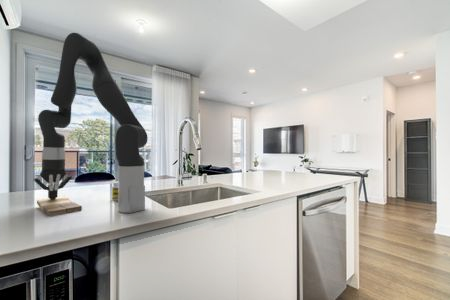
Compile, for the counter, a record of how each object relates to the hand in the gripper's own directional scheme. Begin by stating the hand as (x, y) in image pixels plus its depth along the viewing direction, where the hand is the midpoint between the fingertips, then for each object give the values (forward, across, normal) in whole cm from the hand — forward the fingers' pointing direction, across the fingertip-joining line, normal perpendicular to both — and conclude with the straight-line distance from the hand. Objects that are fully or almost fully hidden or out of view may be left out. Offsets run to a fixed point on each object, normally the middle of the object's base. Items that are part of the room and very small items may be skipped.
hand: (52, 199), depth 88 cm
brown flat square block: (+2, 0, -13) cm, 13 cm away
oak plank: (+2, 0, -2) cm, 3 cm away
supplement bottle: (+2, +22, -11) cm, 25 cm away
